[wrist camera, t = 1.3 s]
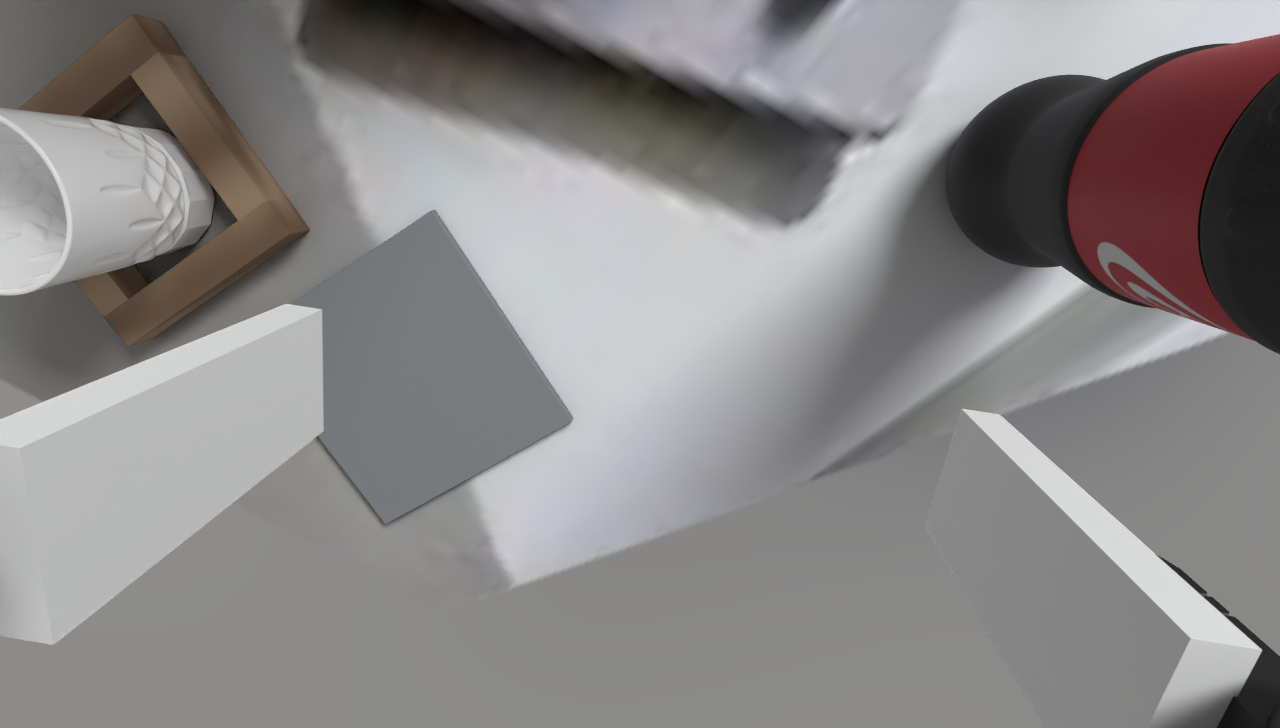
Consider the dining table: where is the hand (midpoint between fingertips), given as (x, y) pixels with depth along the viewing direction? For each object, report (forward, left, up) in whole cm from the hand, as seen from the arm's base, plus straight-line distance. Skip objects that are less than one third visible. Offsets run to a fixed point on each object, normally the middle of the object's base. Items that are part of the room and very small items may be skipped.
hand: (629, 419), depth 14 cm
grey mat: (-2, -17, -24) cm, 29 cm away
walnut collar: (-18, -23, -24) cm, 37 cm away
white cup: (-18, -23, -24) cm, 38 cm away
